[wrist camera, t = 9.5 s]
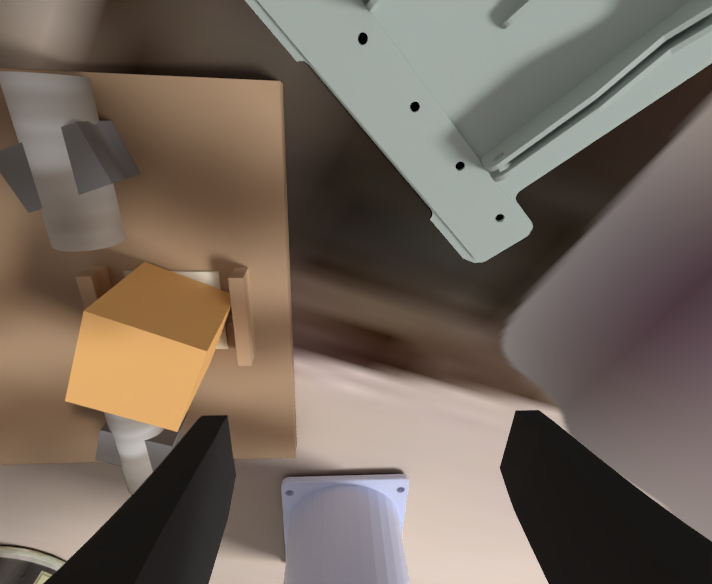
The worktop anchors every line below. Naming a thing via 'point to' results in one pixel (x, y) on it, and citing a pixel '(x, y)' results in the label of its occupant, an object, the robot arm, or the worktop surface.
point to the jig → (141, 251)
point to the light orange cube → (147, 346)
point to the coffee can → (26, 566)
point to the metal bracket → (491, 88)
